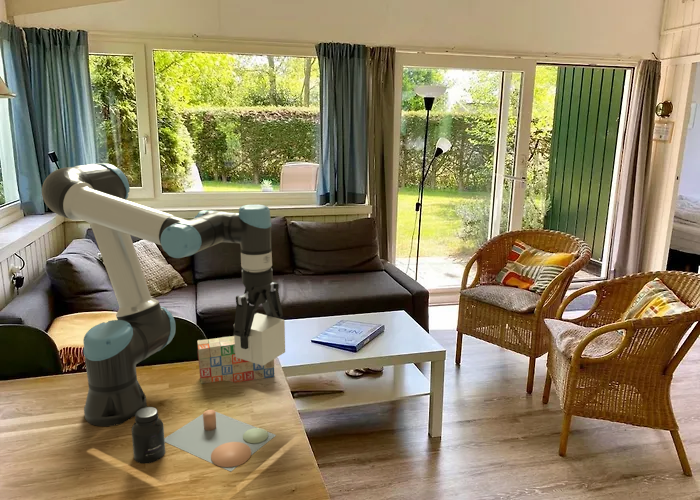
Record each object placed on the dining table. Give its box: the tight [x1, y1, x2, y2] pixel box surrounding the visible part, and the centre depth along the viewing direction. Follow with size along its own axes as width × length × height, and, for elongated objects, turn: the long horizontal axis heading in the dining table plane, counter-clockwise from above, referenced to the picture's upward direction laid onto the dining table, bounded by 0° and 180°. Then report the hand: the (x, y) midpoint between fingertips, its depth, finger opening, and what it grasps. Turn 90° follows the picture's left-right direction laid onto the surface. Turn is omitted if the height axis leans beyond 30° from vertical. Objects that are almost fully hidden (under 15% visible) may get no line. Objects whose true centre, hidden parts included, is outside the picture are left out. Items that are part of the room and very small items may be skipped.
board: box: [164, 409, 277, 473], centre depth 131 cm, size 22×16×5 cm
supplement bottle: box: [131, 406, 166, 465], centre depth 124 cm, size 7×7×12 cm
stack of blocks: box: [196, 335, 275, 385], centre depth 162 cm, size 21×6×12 cm, turn 108°
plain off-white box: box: [233, 312, 286, 366], centre depth 140 cm, size 9×9×9 cm
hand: (260, 351), depth 141 cm, fingers closed on plain off-white box, 9 cm apart
